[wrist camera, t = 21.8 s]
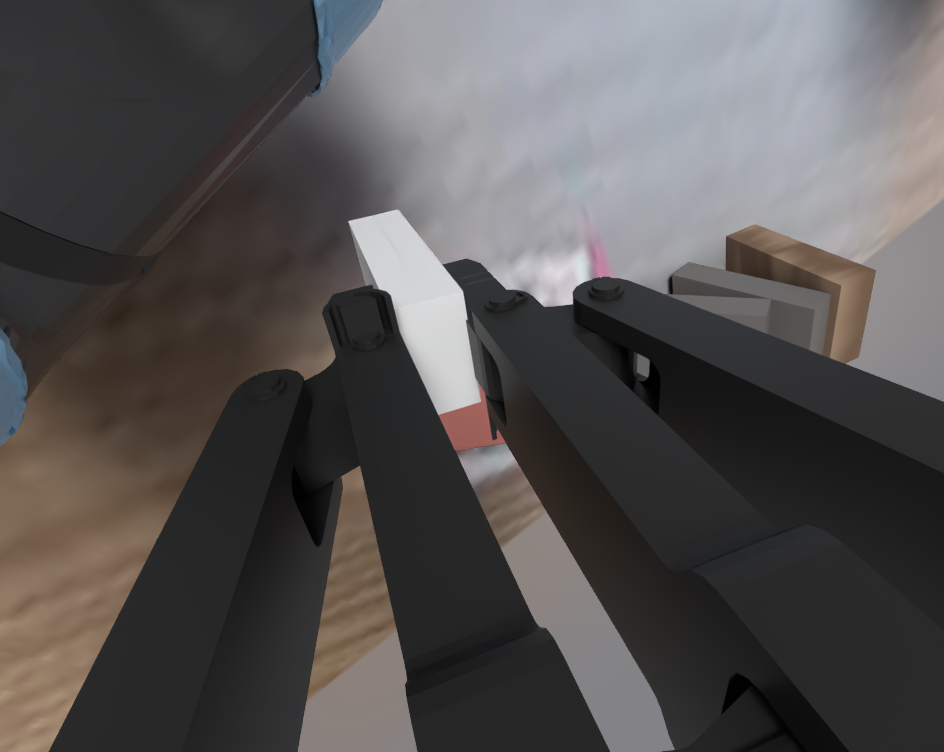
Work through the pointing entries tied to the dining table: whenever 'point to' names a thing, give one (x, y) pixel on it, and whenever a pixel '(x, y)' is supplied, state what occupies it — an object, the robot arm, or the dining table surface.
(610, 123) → the dining table surface
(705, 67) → the dining table surface
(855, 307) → the end stop
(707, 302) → the domino
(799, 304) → the domino
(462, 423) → the red domino
